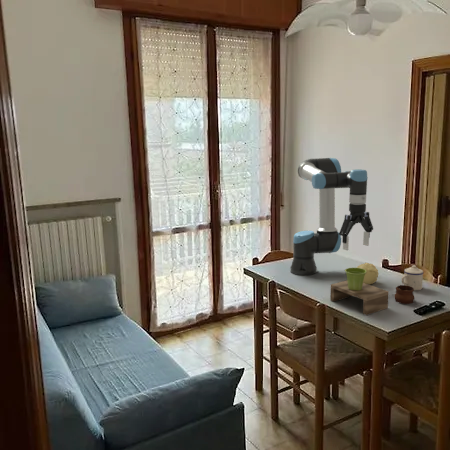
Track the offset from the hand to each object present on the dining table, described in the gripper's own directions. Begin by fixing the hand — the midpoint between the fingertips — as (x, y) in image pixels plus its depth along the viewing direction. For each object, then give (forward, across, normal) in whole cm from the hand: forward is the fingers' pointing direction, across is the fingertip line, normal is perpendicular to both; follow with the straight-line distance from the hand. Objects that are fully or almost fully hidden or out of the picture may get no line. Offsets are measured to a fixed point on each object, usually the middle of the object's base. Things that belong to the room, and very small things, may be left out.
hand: (355, 247), depth 215 cm
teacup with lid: (+25, +32, -8) cm, 42 cm away
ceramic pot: (+25, +15, -17) cm, 34 cm away
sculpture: (+26, +21, +11) cm, 35 cm away
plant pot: (+17, -8, -8) cm, 20 cm away
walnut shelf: (+25, -6, -8) cm, 26 cm away
